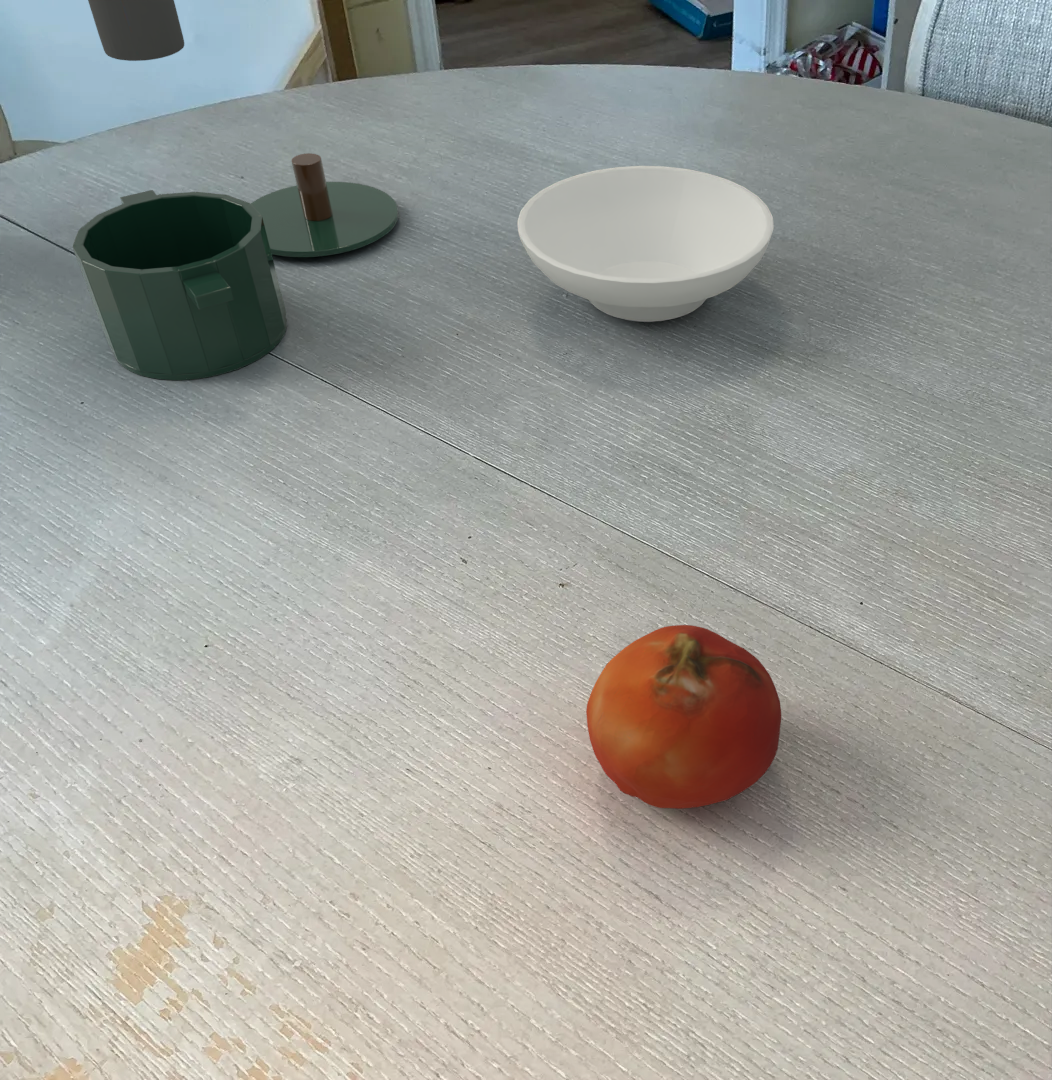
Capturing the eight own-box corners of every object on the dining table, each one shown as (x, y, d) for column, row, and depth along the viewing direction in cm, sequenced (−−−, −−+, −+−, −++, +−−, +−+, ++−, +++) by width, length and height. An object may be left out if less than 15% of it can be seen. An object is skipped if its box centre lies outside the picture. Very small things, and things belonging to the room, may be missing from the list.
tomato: (553, 783, 58) (541, 675, 53) (661, 670, 64) (660, 562, 59) (707, 876, 55) (711, 769, 49) (808, 747, 60) (820, 639, 55)
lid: (272, 279, 95) (254, 208, 91) (218, 216, 103) (199, 149, 99) (425, 237, 101) (415, 169, 97) (362, 180, 109) (350, 115, 105)
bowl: (482, 337, 89) (472, 255, 85) (580, 226, 103) (576, 151, 99) (728, 385, 85) (731, 301, 81) (795, 262, 99) (801, 185, 95)
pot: (151, 418, 81) (112, 309, 75) (84, 307, 91) (45, 204, 86) (325, 363, 86) (301, 257, 80) (242, 264, 97) (216, 165, 91)
